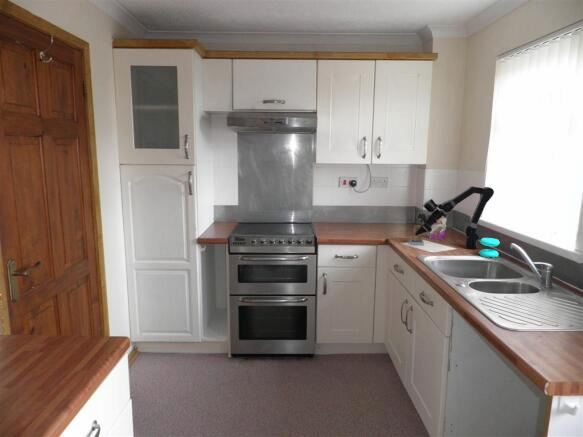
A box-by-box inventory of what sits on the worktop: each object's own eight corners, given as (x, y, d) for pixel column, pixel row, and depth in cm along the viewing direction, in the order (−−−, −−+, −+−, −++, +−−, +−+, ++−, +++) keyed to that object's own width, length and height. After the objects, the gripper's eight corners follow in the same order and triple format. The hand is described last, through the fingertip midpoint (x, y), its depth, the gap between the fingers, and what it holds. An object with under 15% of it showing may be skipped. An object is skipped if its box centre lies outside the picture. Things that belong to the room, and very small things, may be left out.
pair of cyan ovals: (490, 241, 222) (476, 238, 231) (489, 259, 223) (475, 254, 233) (504, 240, 225) (489, 237, 235) (502, 257, 227) (488, 253, 236)
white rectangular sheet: (423, 241, 267) (424, 240, 267) (457, 250, 243) (457, 248, 243) (400, 244, 257) (400, 243, 257) (432, 254, 234) (432, 252, 234)
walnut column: (420, 242, 257) (420, 225, 255) (420, 243, 253) (421, 226, 251) (412, 241, 258) (413, 225, 256) (413, 243, 253) (414, 226, 252)
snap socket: (422, 243, 258) (422, 240, 258) (423, 245, 251) (424, 242, 250) (409, 242, 260) (409, 239, 259) (411, 245, 252) (411, 242, 252)
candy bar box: (428, 239, 276) (429, 215, 273) (427, 237, 280) (429, 214, 278) (445, 240, 273) (447, 216, 270) (444, 238, 277) (446, 215, 275)
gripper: (423, 206, 260) (405, 222, 264) (427, 210, 242) (407, 227, 246) (435, 218, 260) (416, 234, 263) (440, 223, 242) (420, 240, 245)
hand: (415, 234), depth 254 cm, fingers closed on walnut column, 4 cm apart
